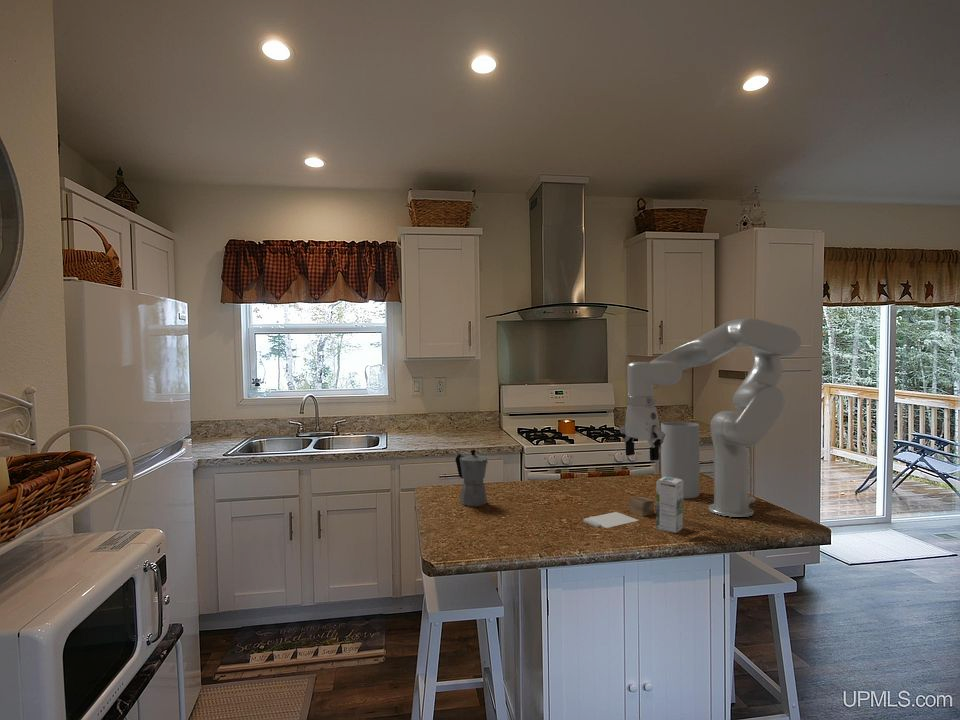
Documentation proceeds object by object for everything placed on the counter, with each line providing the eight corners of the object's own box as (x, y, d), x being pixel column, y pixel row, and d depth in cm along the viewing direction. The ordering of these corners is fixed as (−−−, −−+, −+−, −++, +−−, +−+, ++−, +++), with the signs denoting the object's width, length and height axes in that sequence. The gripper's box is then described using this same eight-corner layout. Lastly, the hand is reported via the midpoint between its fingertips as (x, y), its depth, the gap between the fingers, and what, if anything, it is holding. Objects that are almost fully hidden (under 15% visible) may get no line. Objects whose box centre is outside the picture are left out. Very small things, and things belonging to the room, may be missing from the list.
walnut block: (641, 512, 158) (641, 496, 158) (654, 516, 153) (653, 500, 153) (629, 515, 155) (629, 498, 155) (642, 519, 151) (642, 502, 151)
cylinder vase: (655, 494, 178) (654, 424, 178) (672, 488, 186) (671, 420, 186) (689, 501, 169) (688, 427, 169) (706, 494, 177) (705, 423, 177)
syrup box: (663, 526, 144) (662, 475, 144) (684, 530, 140) (683, 478, 140) (655, 531, 140) (655, 479, 140) (677, 536, 136) (677, 482, 136)
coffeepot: (497, 503, 168) (496, 450, 168) (476, 509, 162) (476, 454, 162) (466, 495, 179) (466, 444, 179) (446, 500, 173) (445, 448, 173)
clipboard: (615, 512, 157) (615, 508, 157) (645, 523, 146) (645, 519, 146) (575, 521, 149) (575, 516, 149) (604, 533, 139) (604, 528, 139)
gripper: (672, 403, 148) (673, 460, 148) (628, 399, 163) (629, 452, 164) (654, 404, 145) (655, 463, 145) (611, 401, 160) (612, 454, 160)
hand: (641, 457), depth 154 cm, fingers open, 9 cm apart
